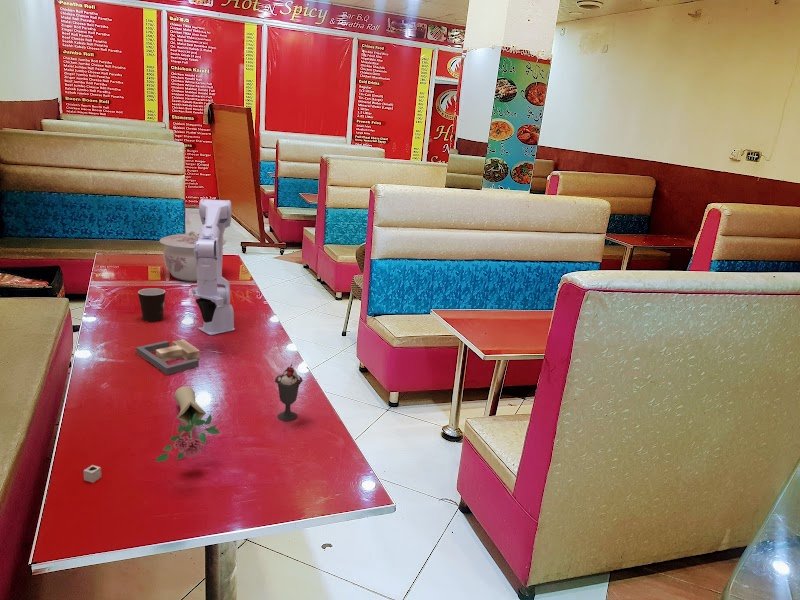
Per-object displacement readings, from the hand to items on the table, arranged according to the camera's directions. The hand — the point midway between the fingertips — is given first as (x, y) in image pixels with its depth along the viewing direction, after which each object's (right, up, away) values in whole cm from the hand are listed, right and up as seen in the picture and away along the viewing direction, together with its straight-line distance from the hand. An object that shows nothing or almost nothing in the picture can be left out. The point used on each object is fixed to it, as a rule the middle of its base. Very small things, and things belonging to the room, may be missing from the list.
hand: (207, 321), depth 174 cm
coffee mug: (-27, 0, +26) cm, 37 cm away
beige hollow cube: (-2, -29, -62) cm, 68 cm away
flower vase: (+11, -25, -45) cm, 53 cm away
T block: (-8, -11, -5) cm, 14 cm away
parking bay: (-10, -11, -7) cm, 16 cm away
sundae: (+31, -23, -33) cm, 50 cm away
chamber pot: (-32, +17, +78) cm, 86 cm away
